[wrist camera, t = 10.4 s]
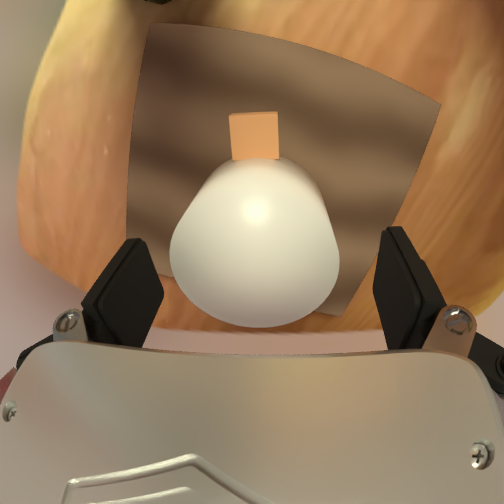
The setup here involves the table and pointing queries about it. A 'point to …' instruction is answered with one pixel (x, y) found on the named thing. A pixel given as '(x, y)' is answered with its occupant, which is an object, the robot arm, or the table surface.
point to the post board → (289, 131)
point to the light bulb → (256, 234)
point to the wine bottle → (159, 1)
